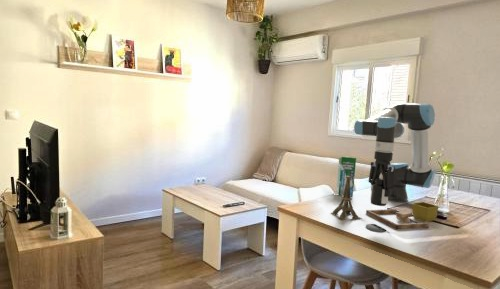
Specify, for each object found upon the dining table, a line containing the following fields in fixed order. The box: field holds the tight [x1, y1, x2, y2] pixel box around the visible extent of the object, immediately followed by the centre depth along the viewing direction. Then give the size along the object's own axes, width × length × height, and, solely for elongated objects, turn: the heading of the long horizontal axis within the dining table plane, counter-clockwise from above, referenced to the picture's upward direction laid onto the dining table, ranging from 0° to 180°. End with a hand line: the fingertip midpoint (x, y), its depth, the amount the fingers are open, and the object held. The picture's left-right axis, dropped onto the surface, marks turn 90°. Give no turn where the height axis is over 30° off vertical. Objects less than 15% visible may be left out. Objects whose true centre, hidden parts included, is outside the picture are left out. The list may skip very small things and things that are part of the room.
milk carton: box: [335, 155, 357, 197], centre depth 214 cm, size 9×9×25 cm
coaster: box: [365, 223, 388, 233], centre depth 150 cm, size 9×9×1 cm
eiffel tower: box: [330, 174, 361, 221], centre depth 165 cm, size 11×11×25 cm
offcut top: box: [395, 210, 413, 218], centre depth 161 cm, size 4×8×2 cm, turn 123°
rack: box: [365, 208, 430, 231], centre depth 159 cm, size 18×22×4 cm
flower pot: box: [411, 201, 440, 223], centre depth 164 cm, size 9×9×9 cm
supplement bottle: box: [370, 177, 387, 207], centre depth 149 cm, size 7×7×12 cm
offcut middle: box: [396, 216, 411, 224], centre depth 161 cm, size 4×7×2 cm, turn 174°
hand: (378, 201), depth 149 cm, fingers closed on supplement bottle, 7 cm apart
